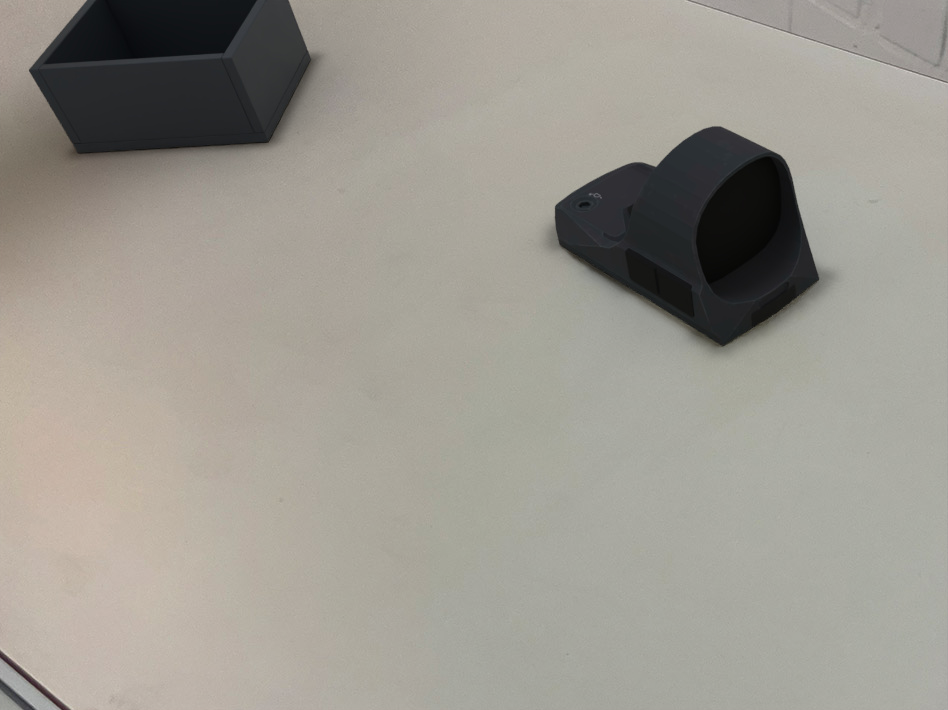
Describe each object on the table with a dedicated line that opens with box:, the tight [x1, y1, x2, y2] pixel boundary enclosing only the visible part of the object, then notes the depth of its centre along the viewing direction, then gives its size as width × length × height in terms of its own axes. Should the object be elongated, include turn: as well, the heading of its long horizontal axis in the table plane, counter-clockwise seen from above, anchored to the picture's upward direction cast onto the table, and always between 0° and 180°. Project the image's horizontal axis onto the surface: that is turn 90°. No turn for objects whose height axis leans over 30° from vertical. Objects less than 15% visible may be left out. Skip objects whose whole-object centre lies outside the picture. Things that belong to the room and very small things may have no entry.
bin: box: [28, 0, 312, 154], centre depth 87 cm, size 16×14×7 cm
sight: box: [554, 125, 820, 347], centre depth 68 cm, size 9×18×10 cm, turn 45°
